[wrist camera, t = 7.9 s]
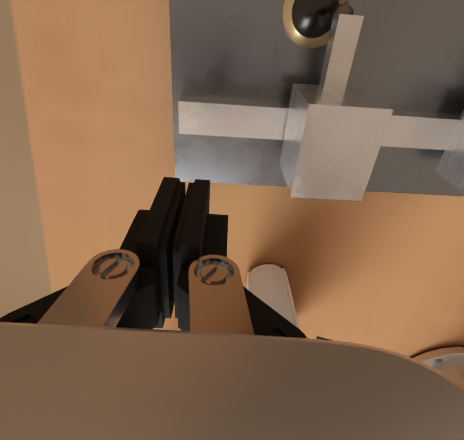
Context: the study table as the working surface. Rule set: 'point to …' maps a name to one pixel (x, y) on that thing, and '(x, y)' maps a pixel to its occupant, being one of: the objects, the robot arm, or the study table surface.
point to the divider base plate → (309, 72)
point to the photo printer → (273, 290)
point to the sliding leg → (333, 124)
